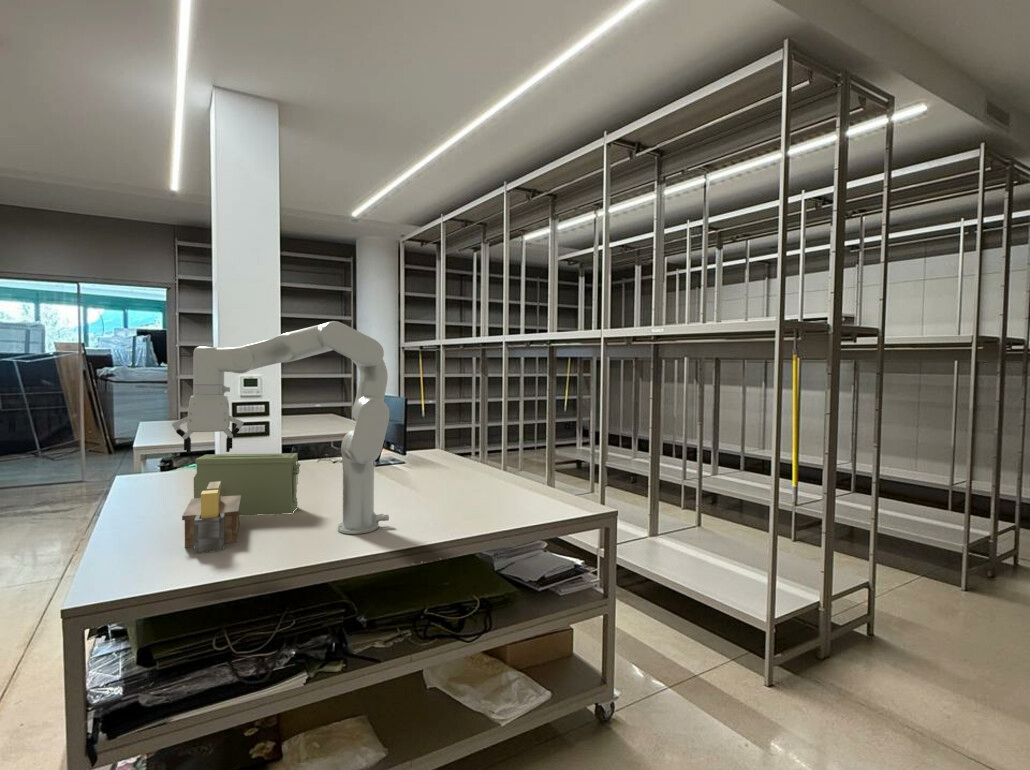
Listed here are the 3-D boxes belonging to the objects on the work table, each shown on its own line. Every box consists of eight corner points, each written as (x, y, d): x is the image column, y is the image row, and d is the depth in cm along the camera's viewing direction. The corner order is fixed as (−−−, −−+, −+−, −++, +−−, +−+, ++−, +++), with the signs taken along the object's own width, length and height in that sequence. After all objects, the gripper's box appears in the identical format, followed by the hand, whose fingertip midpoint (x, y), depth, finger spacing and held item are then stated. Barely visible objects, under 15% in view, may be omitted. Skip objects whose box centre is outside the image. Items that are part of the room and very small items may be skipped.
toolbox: (239, 523, 176) (239, 499, 175) (235, 548, 152) (235, 520, 151) (193, 527, 170) (193, 502, 170) (181, 555, 146) (181, 525, 146)
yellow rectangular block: (218, 545, 155) (218, 489, 154) (217, 549, 151) (217, 492, 151) (202, 546, 153) (202, 490, 153) (201, 551, 150) (200, 494, 149)
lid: (241, 501, 176) (241, 476, 176) (237, 524, 152) (237, 495, 151) (191, 505, 170) (191, 479, 170) (179, 529, 146) (178, 499, 146)
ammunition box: (296, 514, 188) (296, 456, 187) (192, 517, 182) (192, 458, 181) (301, 506, 197) (301, 452, 197) (203, 510, 191) (203, 453, 191)
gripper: (244, 390, 158) (243, 448, 158) (174, 390, 150) (174, 451, 151) (243, 391, 151) (242, 452, 151) (170, 391, 144) (170, 455, 144)
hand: (208, 452), depth 151 cm, fingers open, 9 cm apart
